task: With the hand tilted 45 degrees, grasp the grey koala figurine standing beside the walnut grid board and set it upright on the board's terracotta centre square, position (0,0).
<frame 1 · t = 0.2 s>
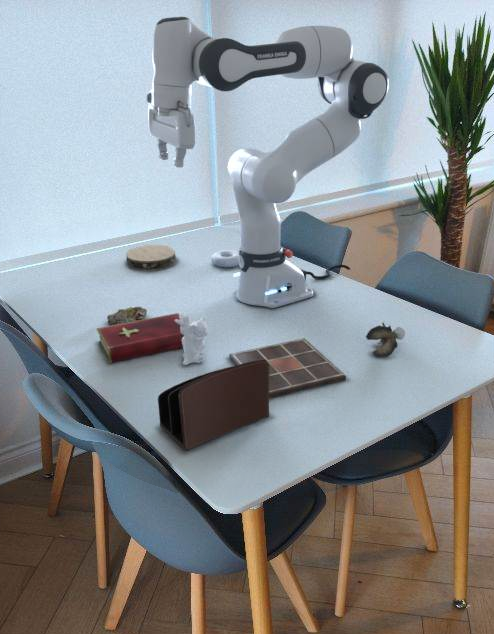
hand: (170, 163, 145), 39 cm above the table, tool pointing down, fingers open, 8 cm apart
hardcover book: (146, 345, 149), on the table
board: (285, 368, 139), on the table
eagle figurine: (383, 349, 147), on the table
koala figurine: (193, 360, 143), on the table
letter holder: (215, 423, 121), on the table
mineral rock: (127, 320, 161), on the table
tambourine: (151, 262, 199), on the table
donut: (227, 264, 197), on the table
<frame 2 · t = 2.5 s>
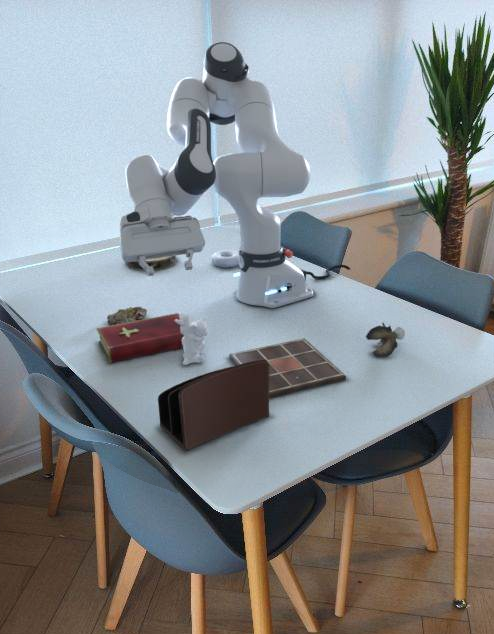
hand: (170, 272, 144), 17 cm above the table, tool tilted 45°, fingers open, 8 cm apart
nothing on the table moved.
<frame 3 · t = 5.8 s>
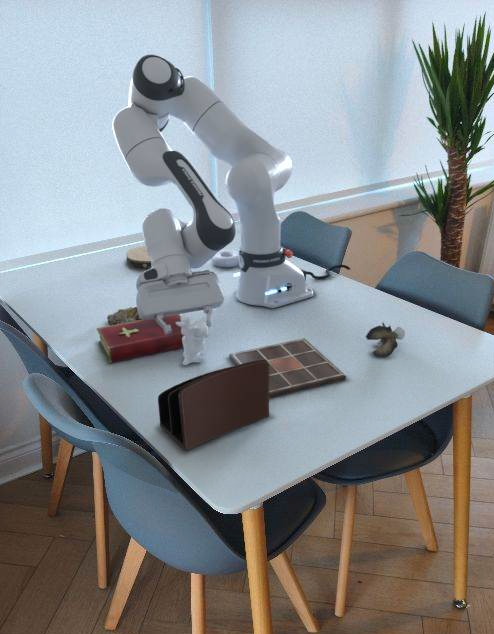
hand: (188, 330, 139), 7 cm above the table, tool tilted 45°, fingers open, 8 cm apart
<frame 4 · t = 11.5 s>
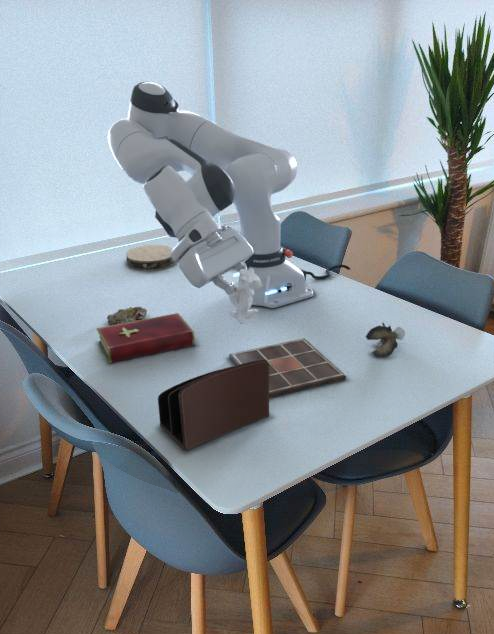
hand: (241, 287, 130), 19 cm above the table, tool tilted 45°, fingers closed on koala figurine, 5 cm apart
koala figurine: (241, 316, 133), point 12 cm above the table, touching gripper
everything else where it was.
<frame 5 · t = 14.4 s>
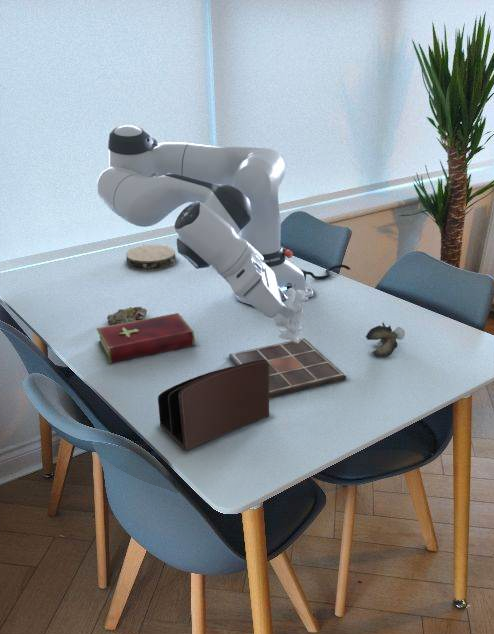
hand: (288, 309, 131), 15 cm above the table, tool tilted 45°, fingers closed on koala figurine, 5 cm apart
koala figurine: (287, 337, 135), point 8 cm above the table, touching gripper
everything else where it was.
when the fingers open (8 cm above the table, at t = 16.6 s): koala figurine stays where it is, resting on board.
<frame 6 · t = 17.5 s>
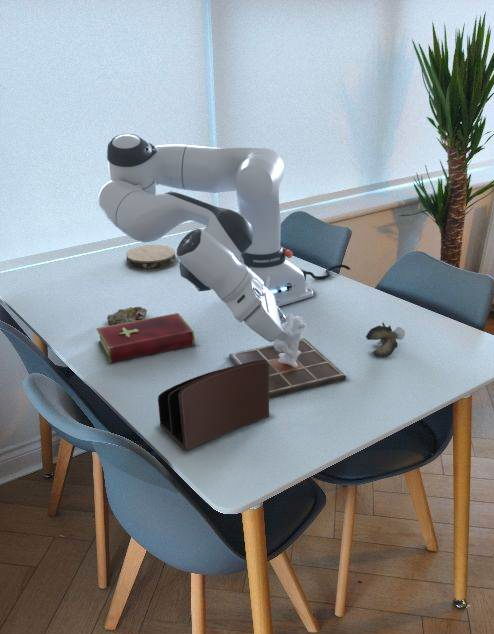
hand: (288, 331, 134), 9 cm above the table, tool tilted 45°, fingers open, 8 cm apart
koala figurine: (287, 361, 139), point 2 cm above the table, touching board, gripper
everything else where it was.
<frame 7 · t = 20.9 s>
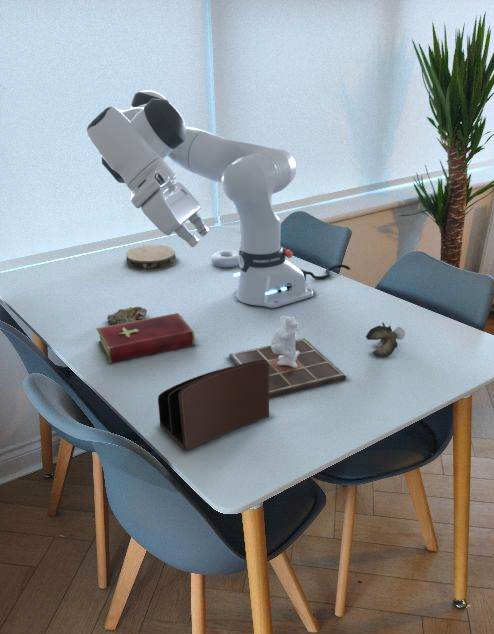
hand: (201, 239, 124), 30 cm above the table, tool tilted 40°, fingers open, 8 cm apart
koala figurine: (286, 363, 139), point 1 cm above the table, touching board
everything else where it was.
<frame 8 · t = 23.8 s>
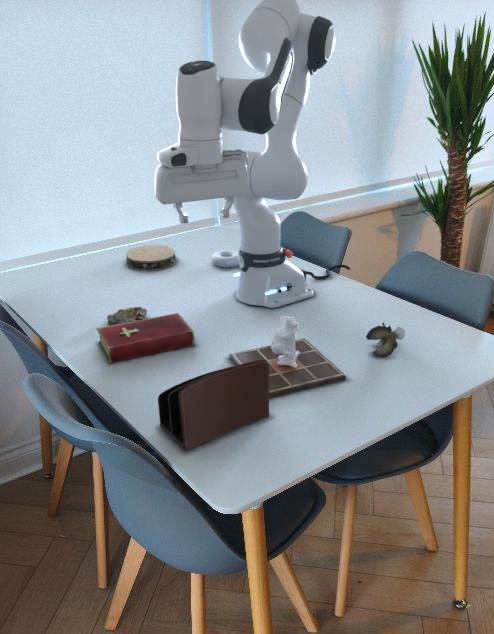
hand: (204, 220, 131), 31 cm above the table, tool pointing down, fingers open, 8 cm apart
nothing on the table moved.
at the end: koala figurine 0.8 cm off-centre on the board, point 1.1 cm above the board's base; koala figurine tilted 0°; the gripper is holding nothing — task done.
